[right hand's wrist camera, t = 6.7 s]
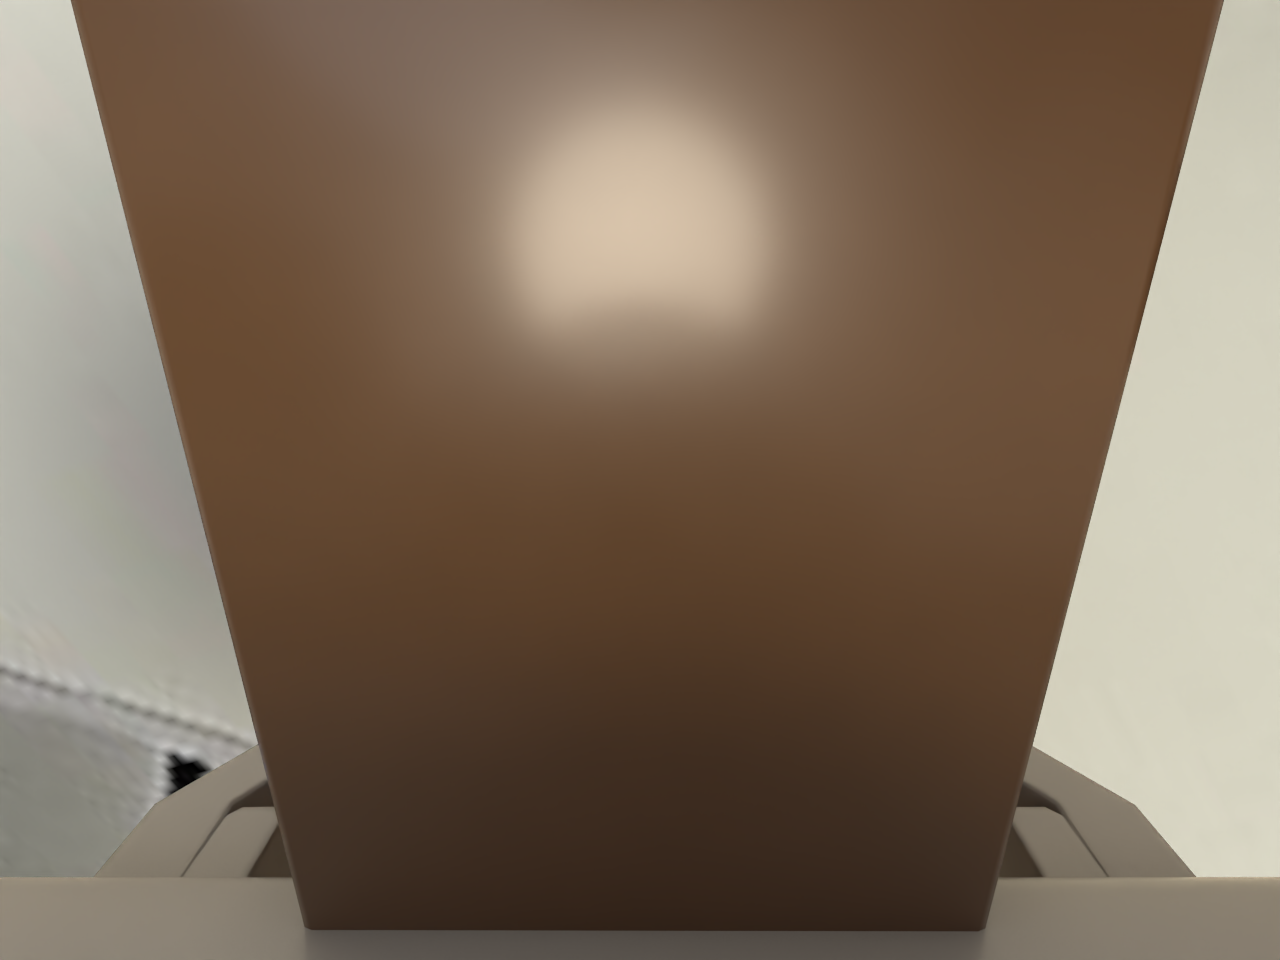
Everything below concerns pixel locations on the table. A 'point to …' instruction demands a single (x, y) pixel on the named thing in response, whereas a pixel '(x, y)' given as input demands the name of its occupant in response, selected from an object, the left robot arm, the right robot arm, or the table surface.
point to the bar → (646, 425)
